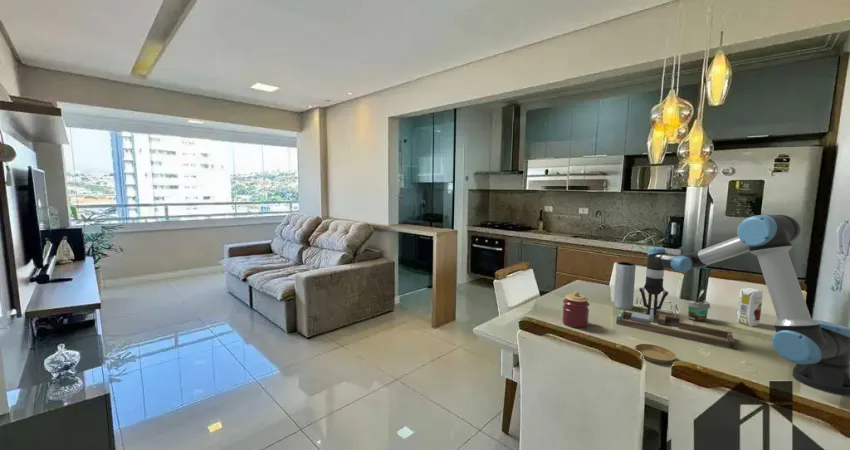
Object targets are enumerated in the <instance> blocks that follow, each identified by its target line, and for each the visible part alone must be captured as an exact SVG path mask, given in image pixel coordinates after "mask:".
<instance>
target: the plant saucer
mask: <svg viewBox="0 0 850 450" xmlns="http://www.w3.org/2000/svg"><path fill="white" fill-rule="evenodd" d="M634 349H635V350H638V351H640V352H641V353H642V354H643V356H644V357H645V358H644V359H645V360H647V361H650V362H651V363H657V364H669V363H671V362H673V361H675V360H676V358H677V356H676V354H675V353H674V352H673V351H671V350H669V349H668V348H665V347H662V346H660V345H655V344H649V343H638V344H635V346H634Z"/></svg>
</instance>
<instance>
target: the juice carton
mask: <svg viewBox="0 0 850 450" xmlns="http://www.w3.org/2000/svg"><path fill="white" fill-rule="evenodd" d="M762 303H763V290H761V289H757V288H752V287H746V288H740V291H739V295H738V306H737V314H736V323H738V324H740V325H744V326H747V327H754V326H755V327H756V326H759V324H760V322H761V321H760V320H761V315H762V314H761V312H762V305H763V304H762Z"/></svg>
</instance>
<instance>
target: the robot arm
mask: <svg viewBox="0 0 850 450" xmlns="http://www.w3.org/2000/svg"><path fill="white" fill-rule="evenodd" d="M801 232H802V229H801V225H800V223H799V221H797V219H795V218H794V217H791V216H789V215H785V214H759V215H757V214H756V215H753V216H752V215H751V216H749V217H747V218H745V219H743V220H742V221H741V222H740V224H738V227H737V231H736V233H737V236H735V237H733V238H730V239H727V240H724V241H722V242H719V243H716V244H713V245H711V246H708V247H706V248H702V249H701V250H698V251H695V252H691V253H681V254H680V253H679V254H673V253H668V252H667V251H666V248H665V247H660V246H651V247H648V251H647V258H646V271H645V272H646V273H645V274H646V276H645V283H644V285H643V286H642V287H639V288H638V290H639V292H640V294H641V298H642V304H643V307H645V308H647V311H646V312H647V313H648V314H649V315H650V319H649V321H651V322H650V323H654V322H653V316H654V315H655V316H656V313H657V310H662V306H663V305H664V302H665V299H666V297H667V296H668V295H669V291H667V290H665V288H664V275H665V269H668V270H672V271H675V272H678V273H679V272H681V273H687V272H688V271H690V270H692V269H694V270H695V269H698V270H699V269H704V268H706V267H708V266H709V265H712V264H715V263H717V262H721V261H725V260H727V259H731V258H734V257H737V256H740V255H743V254H747V253H750V254H753V255H755V256H756V257H757V260H758V263H759V266H760V270H761V272H762V275H763V278H764V281H765V284H766V289H767V290H768V294H769V296H770V300H771V303H772V305H773V309H774V312H775V315H776V318H777V319H776V321H775V322H774V323H773V326H774V330H775V333H774V335H773V336H772V339H771V344H772V347H773V349H774V350H775V352H776V353H777V354H778V355H779V356H781V357H782V358H784V360H787V361H789V362H791V363H793V364H795V365H794V367H792V372H791V374H792V375H791V376H792V377H793V378H794V379H795V380H797V381H798V382H800V383H802V384H805V386H809V387H811V388H814V389H817V390H820V391H824V392H826V393H827V392H828V393H832V394H836V393H838V394H839V395H850V328H849V327H847V326H844V325H841V324H837V323H833V322H829V321H824V320H820V319H813V318H812V317H811V314H810V311H809V308H808V305H807V302H806V299H805V296H804V293H803V291H802V288H801V285H800V282H799V280H798V276H797V274H796V271H795V268H794V265H793V262H792V259H791V257H790V253H789V251H790V250H792V248H793V246H792V242H794V241H795V240H797V239H798V238H799V236H800V235H801ZM645 291H646V292H647V294H648V300H647V297H646V293H645ZM661 293H662V296H661V299H660V302H659V303H658V296H659V295H660V294H661ZM653 295H654V299H653V298H652V297H653ZM652 299H653V307H652Z"/></svg>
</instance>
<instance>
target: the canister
mask: <svg viewBox="0 0 850 450" xmlns="http://www.w3.org/2000/svg"><path fill="white" fill-rule="evenodd" d="M562 302H563V305H562V317H561V320H562V321H561V322H562V324H564V325H565V326H567V327H571V328H575V329H584V328H587V327H588V325H589V321H590V320H589V313H590V309H589V306H590V303H589V298H588V297H587V296H585V295H583V294H581V293H579V291H574V292H573V293H568V294H566V295H565V296H564V299H562Z"/></svg>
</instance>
